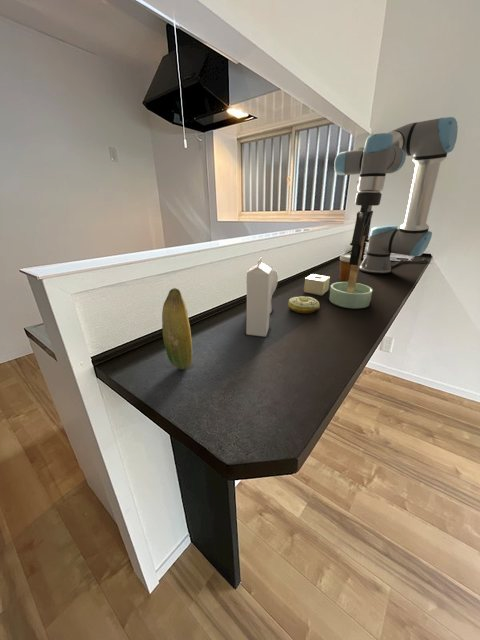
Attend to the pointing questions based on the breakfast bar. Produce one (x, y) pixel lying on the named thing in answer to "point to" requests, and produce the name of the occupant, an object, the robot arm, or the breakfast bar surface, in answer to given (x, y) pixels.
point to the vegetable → (177, 330)
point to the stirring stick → (354, 272)
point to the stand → (316, 284)
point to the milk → (258, 299)
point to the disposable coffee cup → (345, 267)
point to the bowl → (350, 295)
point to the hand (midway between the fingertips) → (356, 262)
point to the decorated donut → (303, 304)
